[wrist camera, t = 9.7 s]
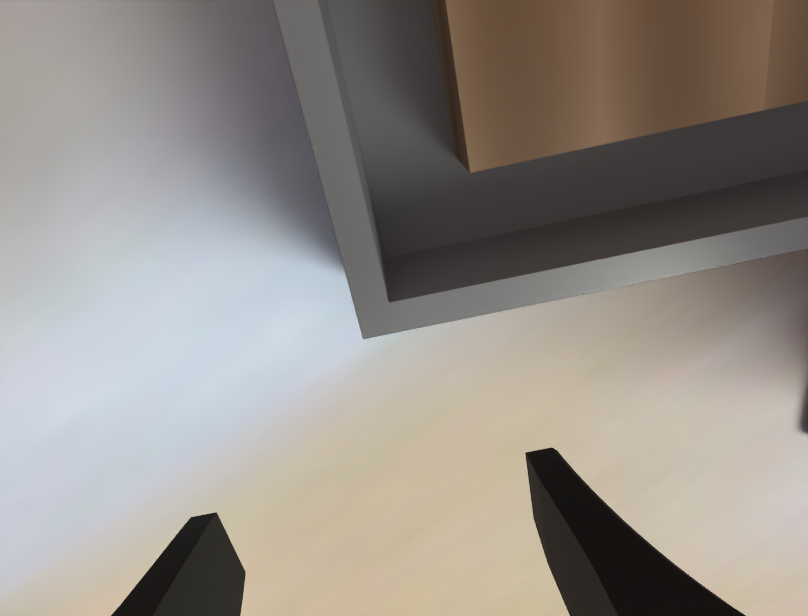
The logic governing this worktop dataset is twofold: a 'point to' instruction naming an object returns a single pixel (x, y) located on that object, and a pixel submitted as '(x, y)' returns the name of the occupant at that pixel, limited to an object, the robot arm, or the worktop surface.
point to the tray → (516, 183)
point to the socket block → (609, 69)
